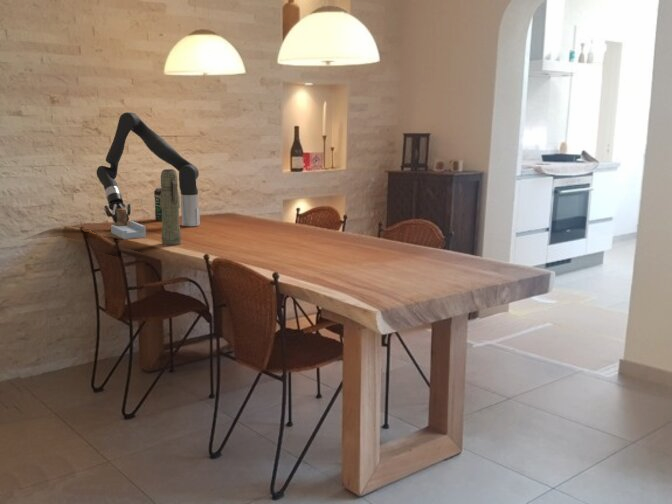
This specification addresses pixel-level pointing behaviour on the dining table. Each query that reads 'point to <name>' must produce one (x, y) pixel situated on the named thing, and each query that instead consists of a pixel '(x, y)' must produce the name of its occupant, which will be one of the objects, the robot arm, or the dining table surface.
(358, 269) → the dining table surface
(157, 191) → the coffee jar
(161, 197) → the thermos
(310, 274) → the dining table surface
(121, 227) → the tray
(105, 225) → the dining table surface
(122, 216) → the brown wooden block
